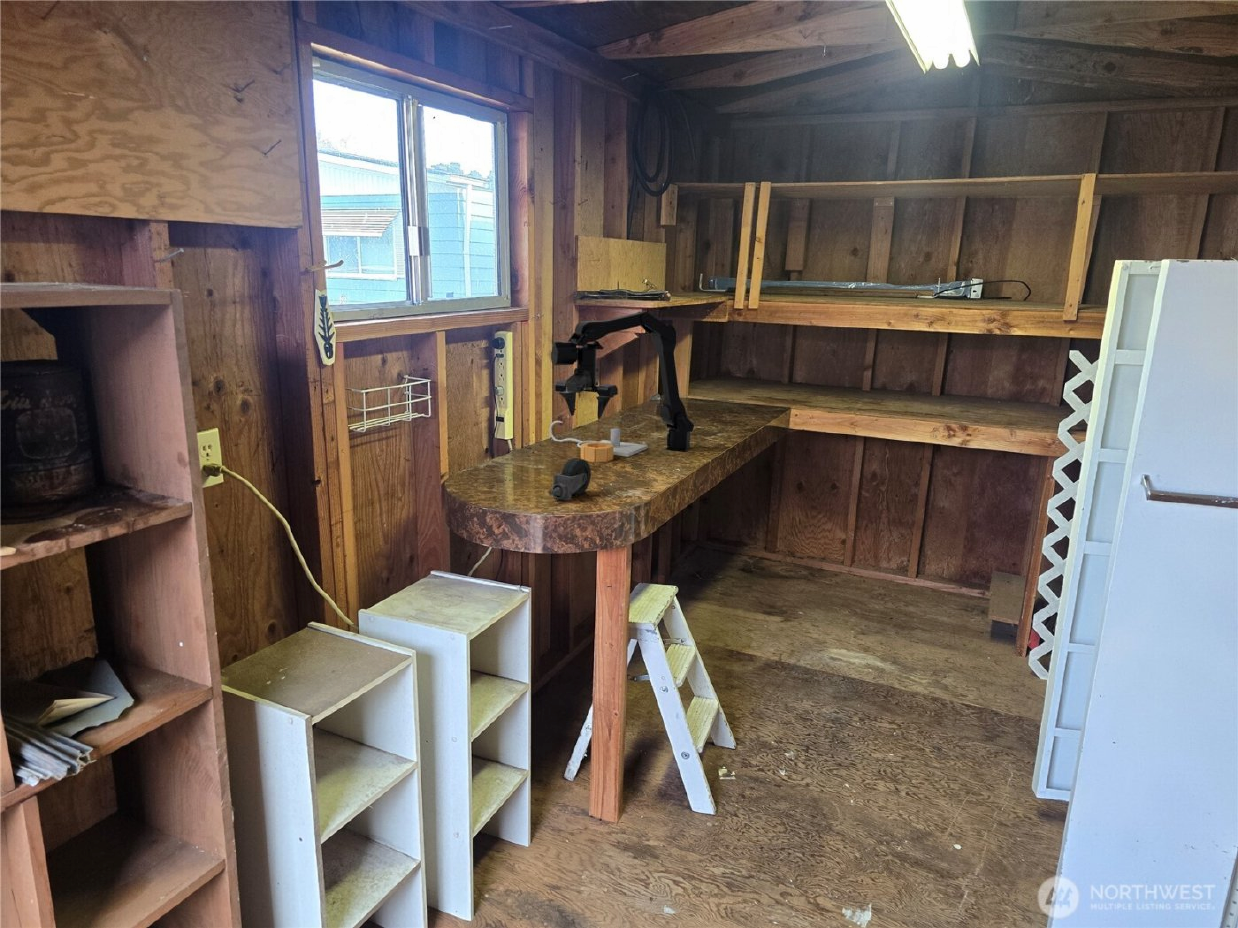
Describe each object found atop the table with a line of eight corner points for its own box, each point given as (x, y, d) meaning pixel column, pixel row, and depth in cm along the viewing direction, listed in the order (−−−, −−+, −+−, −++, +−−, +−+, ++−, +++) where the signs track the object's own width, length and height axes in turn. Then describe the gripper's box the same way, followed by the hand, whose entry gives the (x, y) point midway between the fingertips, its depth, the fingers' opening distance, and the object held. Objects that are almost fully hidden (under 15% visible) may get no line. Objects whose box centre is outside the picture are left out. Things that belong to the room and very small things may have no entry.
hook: (557, 436, 262) (604, 453, 252) (539, 441, 254) (587, 458, 244) (560, 416, 260) (607, 432, 249) (541, 419, 252) (590, 436, 242)
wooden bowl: (617, 457, 233) (617, 444, 232) (603, 463, 225) (603, 449, 224) (590, 453, 237) (591, 441, 236) (575, 459, 229) (576, 446, 228)
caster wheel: (576, 492, 198) (540, 500, 185) (578, 455, 196) (542, 460, 183) (594, 496, 195) (559, 504, 182) (597, 458, 193) (561, 463, 181)
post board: (647, 448, 247) (647, 428, 245) (628, 456, 234) (628, 435, 233) (603, 442, 254) (603, 423, 252) (582, 450, 241) (582, 430, 240)
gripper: (544, 364, 224) (544, 417, 228) (600, 369, 216) (599, 424, 219) (564, 361, 234) (564, 412, 237) (619, 366, 225) (618, 418, 229)
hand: (585, 417), depth 230 cm, fingers open, 9 cm apart
